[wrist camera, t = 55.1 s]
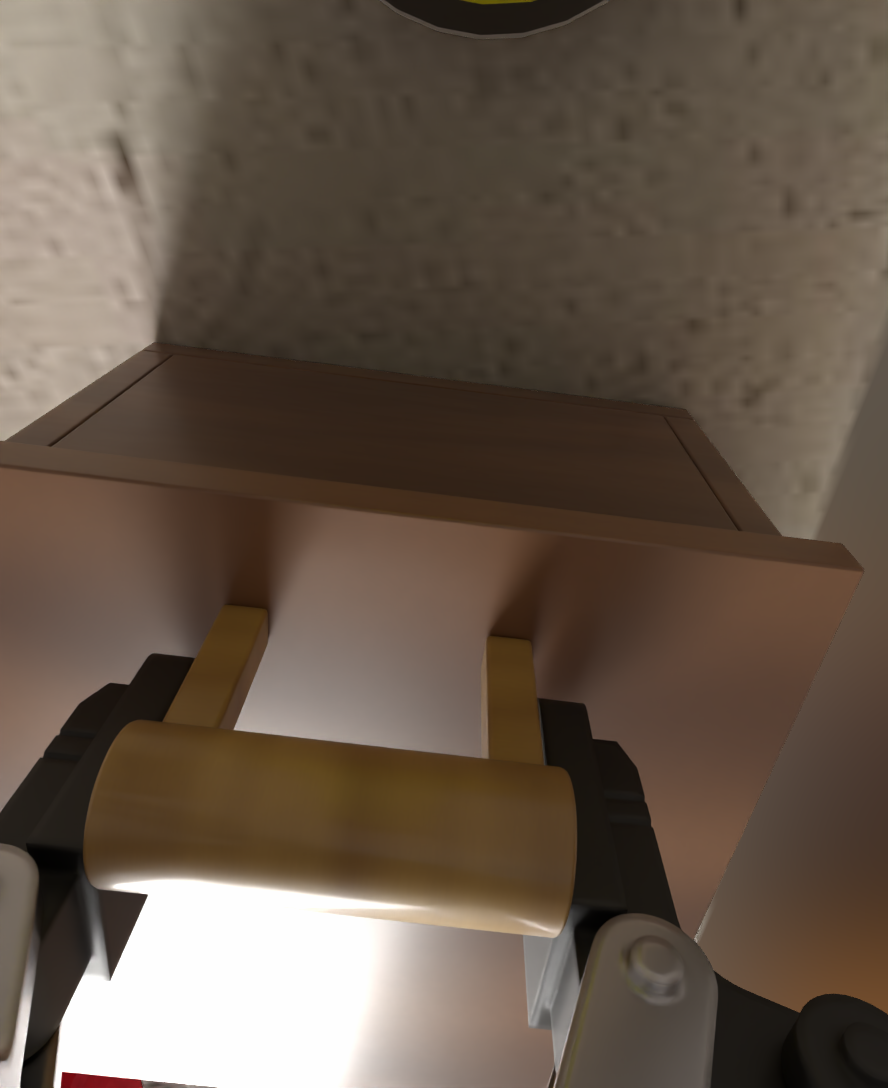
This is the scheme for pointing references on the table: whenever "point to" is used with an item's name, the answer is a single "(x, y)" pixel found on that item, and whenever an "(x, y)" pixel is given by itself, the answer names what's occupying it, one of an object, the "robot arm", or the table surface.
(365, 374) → the chest
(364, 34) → the table surface
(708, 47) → the table surface
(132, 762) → the lid
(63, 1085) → the alarm clock
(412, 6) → the flashlight
